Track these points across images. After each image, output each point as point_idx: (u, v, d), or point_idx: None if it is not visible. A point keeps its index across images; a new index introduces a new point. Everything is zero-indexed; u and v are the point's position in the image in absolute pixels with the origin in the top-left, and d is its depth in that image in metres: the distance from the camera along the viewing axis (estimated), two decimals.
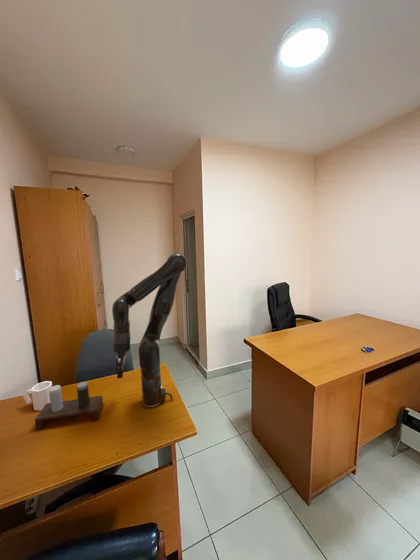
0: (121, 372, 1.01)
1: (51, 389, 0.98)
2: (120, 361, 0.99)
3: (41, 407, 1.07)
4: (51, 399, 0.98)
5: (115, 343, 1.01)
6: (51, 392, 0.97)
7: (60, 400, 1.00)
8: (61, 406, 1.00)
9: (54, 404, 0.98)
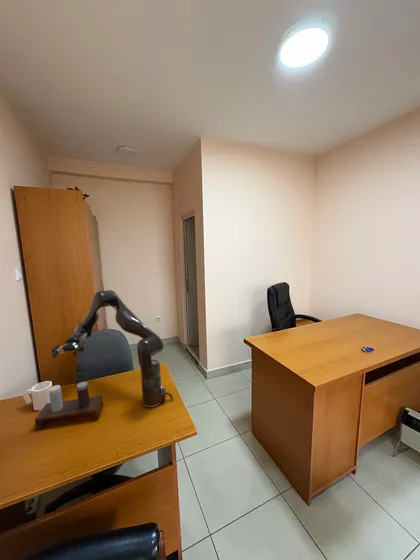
0: (54, 352, 1.11)
1: (51, 389, 0.98)
2: None
3: (41, 407, 1.07)
4: (51, 399, 0.98)
5: None
6: (51, 392, 0.97)
7: (60, 400, 1.00)
8: (61, 406, 1.00)
9: (54, 404, 0.98)
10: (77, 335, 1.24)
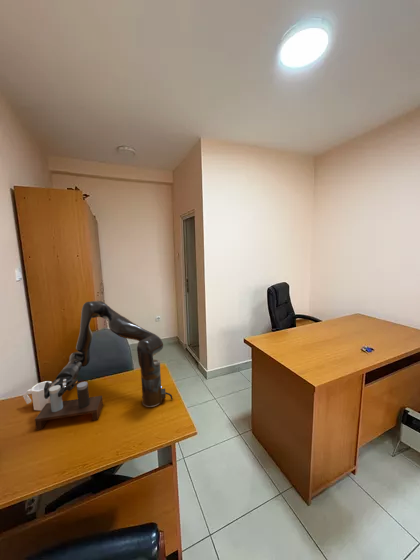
0: (47, 391, 0.99)
1: (51, 389, 0.98)
2: (45, 385, 1.04)
3: (41, 407, 1.07)
4: (51, 399, 0.98)
5: None
6: (51, 392, 0.97)
7: (60, 400, 1.00)
8: (61, 406, 1.00)
9: (54, 404, 0.98)
10: (70, 368, 1.12)
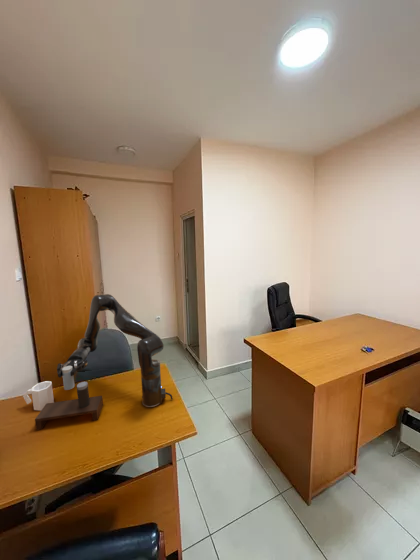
0: (60, 371, 1.07)
1: (64, 369, 1.06)
2: (57, 366, 1.12)
3: (41, 407, 1.07)
4: (64, 378, 1.05)
5: None
6: (64, 371, 1.05)
7: (72, 379, 1.07)
8: (73, 385, 1.08)
9: (67, 383, 1.06)
10: (80, 351, 1.20)
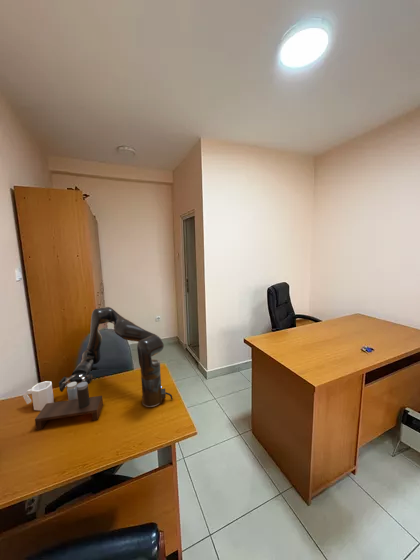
0: (61, 385, 1.10)
1: (69, 385, 1.09)
2: None
3: (41, 407, 1.07)
4: (69, 394, 1.09)
5: None
6: (69, 388, 1.08)
7: (77, 395, 1.11)
8: None
9: (71, 399, 1.09)
10: (84, 365, 1.24)
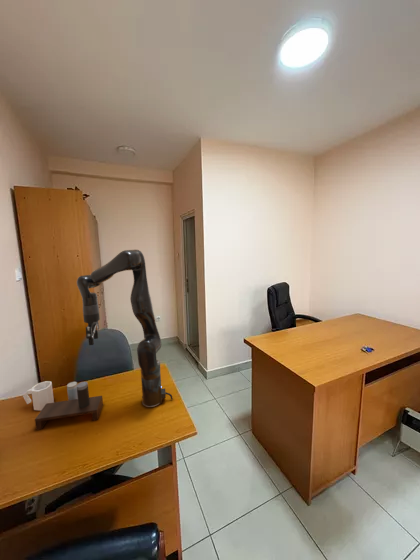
0: (92, 339, 1.16)
1: (69, 385, 1.09)
2: (89, 329, 1.13)
3: (41, 407, 1.07)
4: (69, 394, 1.09)
5: (84, 314, 1.16)
6: (69, 388, 1.08)
7: (77, 395, 1.11)
8: None
9: (71, 399, 1.09)
10: None
